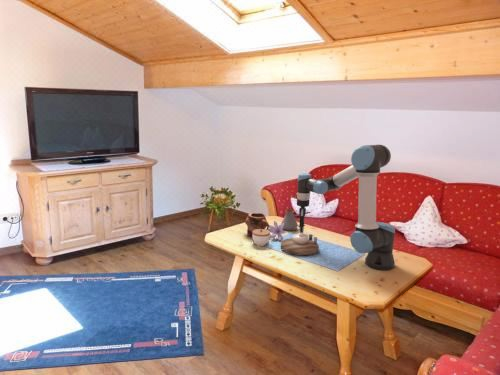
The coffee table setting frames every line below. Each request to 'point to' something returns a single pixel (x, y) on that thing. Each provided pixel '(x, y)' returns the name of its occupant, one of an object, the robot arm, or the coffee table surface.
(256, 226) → the decorative planter
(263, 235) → the lidded jar
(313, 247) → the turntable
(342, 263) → the coffee table surface
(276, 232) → the water lily
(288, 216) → the coffee pot
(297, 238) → the lid
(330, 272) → the coffee table surface
